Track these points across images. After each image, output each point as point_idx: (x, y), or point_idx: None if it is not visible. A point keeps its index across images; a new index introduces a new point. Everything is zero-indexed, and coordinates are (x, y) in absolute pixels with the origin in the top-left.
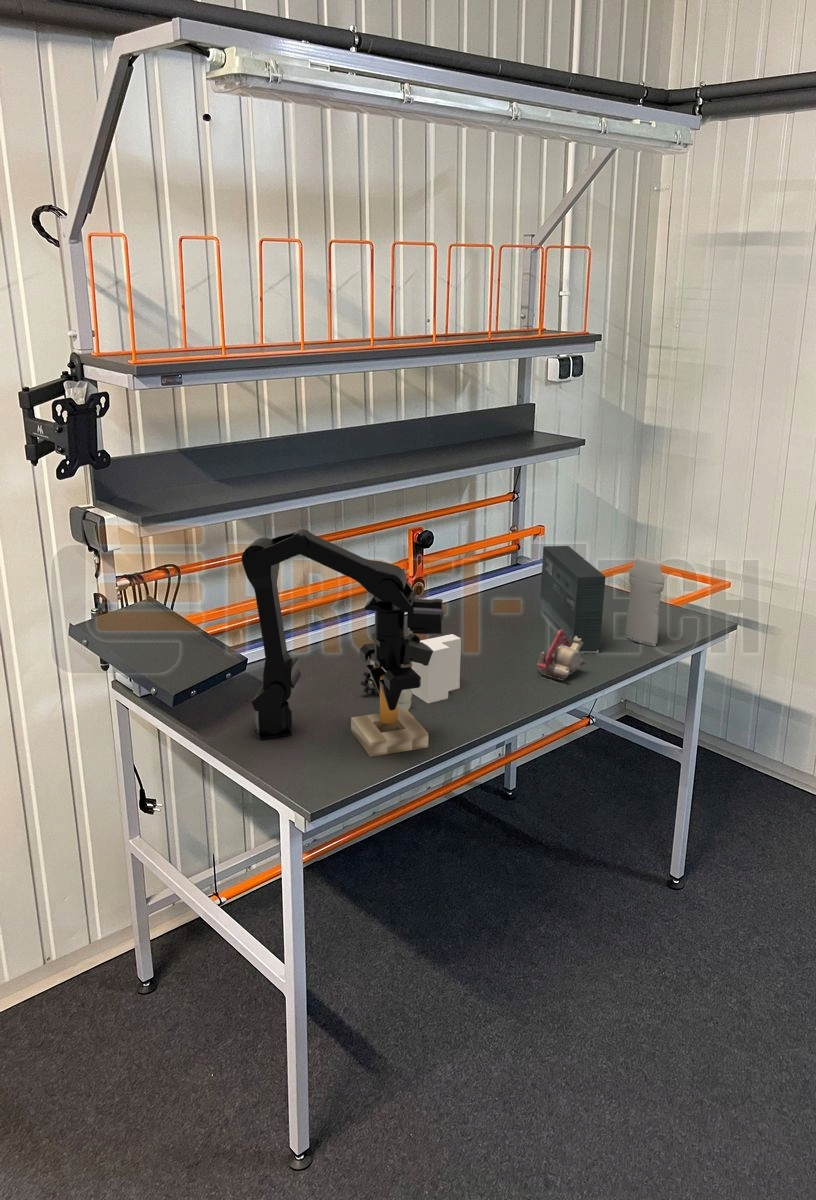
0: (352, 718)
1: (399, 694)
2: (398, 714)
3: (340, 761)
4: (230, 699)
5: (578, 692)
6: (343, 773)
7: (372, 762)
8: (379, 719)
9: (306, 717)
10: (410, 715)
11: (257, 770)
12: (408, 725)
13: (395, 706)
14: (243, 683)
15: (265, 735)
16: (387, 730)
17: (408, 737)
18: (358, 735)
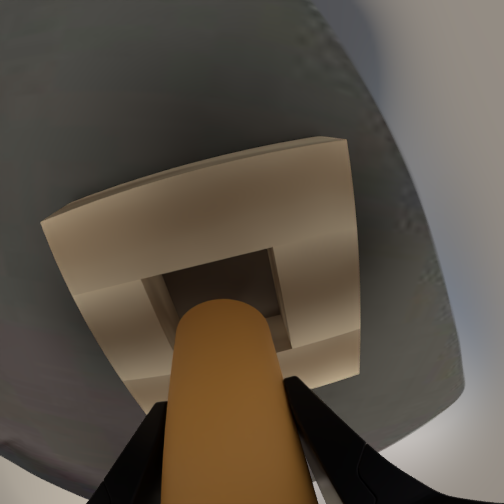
0: None
1: (379, 456)
2: (99, 267)
3: (339, 396)
4: (68, 484)
5: None
6: (393, 382)
7: (372, 333)
8: (159, 348)
9: (95, 439)
10: (106, 206)
11: None
12: (234, 230)
13: (309, 390)
14: (13, 461)
15: None
16: (164, 290)
17: (355, 242)
18: None
